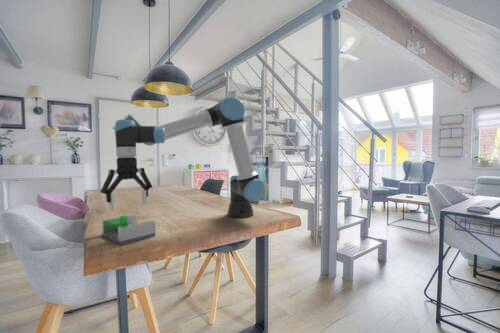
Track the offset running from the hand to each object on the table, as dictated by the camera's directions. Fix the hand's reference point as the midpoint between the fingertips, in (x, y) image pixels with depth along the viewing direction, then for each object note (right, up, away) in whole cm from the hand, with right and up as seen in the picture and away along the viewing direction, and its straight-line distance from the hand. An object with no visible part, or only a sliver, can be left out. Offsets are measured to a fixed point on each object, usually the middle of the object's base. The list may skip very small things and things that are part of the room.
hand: (128, 207), depth 101 cm
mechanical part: (0, -11, 0) cm, 11 cm away
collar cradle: (0, -12, 0) cm, 12 cm away
